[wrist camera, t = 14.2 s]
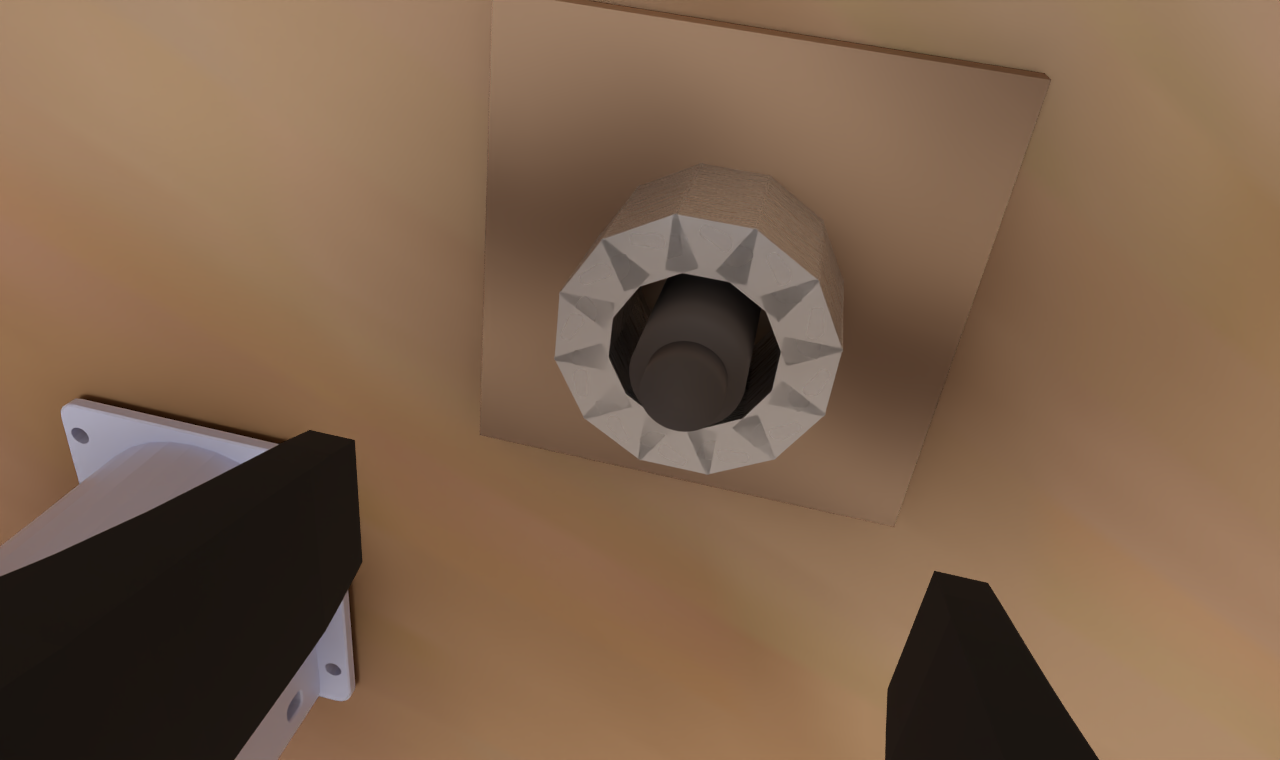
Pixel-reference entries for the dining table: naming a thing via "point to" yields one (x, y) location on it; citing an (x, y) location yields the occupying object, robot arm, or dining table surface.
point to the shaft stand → (760, 143)
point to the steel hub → (723, 250)
